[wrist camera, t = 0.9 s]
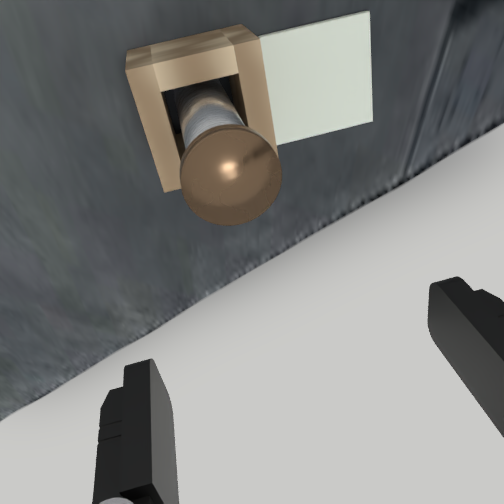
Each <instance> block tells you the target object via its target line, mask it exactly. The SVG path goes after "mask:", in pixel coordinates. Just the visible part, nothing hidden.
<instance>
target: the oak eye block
mask: <svg viewBox="0 0 504 504" xmlns="http://www.w3.org/2000/svg"><path fill="white" fill-rule="evenodd" d="M125 72H126V75H127V78H128V81H129V84H130V87H131V90H132V93H133V96H134V100H135V103H136V106H137V109H138V112H139V115H140V118H141V121H142V124H143V128H144V131H145V134H146V137H147V140H148V143H149V146H150V149H151V152H152V155H153V159H154V162H155V165H156V168H157V171H158V174H159V177H160V180H161V183H162V187H163V190H164V193H165V192H169V191H173V190H177V189H181V183H180V175H179V171H180V163H181V159H182V157H183V154H184V152H185V150H186V148H185V144H184V139H183V135H182V133H178V134H175V131H174V127H173V123H172V120H171V116H170V113H169V109H168V106H167V102H166V99H165V95H164V92H163V91H166V90H170V89H175V88H179V87H183V86H187V85H191V84H195V83H200V82H204V81H208V80H212V79H216V78H220V77H225V76H228V77H229V82H230V87H231V92H232V97H233V102H234V107H235V109H236V111H237V113H238V115H239V116H240V118H241V120H242V122H243V123H244V125H245V126H246V127H249V128H252V129H253V130H255V131H257V132H258V133H260V134H261V135H262V136H263V137H264V138H265V139H266V140H267V141H268V142H269V143H270V145H271V146H272V148H273V150H274V151H275V153H276V155H277V156H278V152H277V145H276V139H275V132H274V126H273V120H272V113H271V107H270V100H269V94H268V87H267V81H266V74H265V68H264V62H263V55H262V49H261V42H260V38H258V37H257V36H256V35H255V34H253V33H252V32H251V31H250V30H248V29H247V28H246V27H245V26H243V25H242V24H239V25H234V26H230V27H226V28H222V29H217V30H213V31H209V32H204V33H200V34H196V35H191V36H187V37H183V38H179V39H174V40H170V41H166V42H161V43H157V44H153V45H148V46H144V47H140V48H136V49H131V50H127V57H126V67H125ZM278 159H279V158H278Z"/></svg>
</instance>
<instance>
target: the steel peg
mask: <svg viewBox="0 0 504 504" xmlns="http://www.w3.org/2000/svg"><path fill="white" fill-rule="evenodd" d="M174 100H175V104H176V109H177V113H178V118H179V122H180V126H181V131H182V135H183V139H184V144H185V148H186V150H185V152H184V154H183V157H182V159H181V163H180V171H179V175H180V183H181V189H182V193H183V196H184V199H185V201H186V203H187V204H188V206H189V207H190V208H191V210H192V211H193V212H194V213H195V214H196V215H198V216H199V217H200V218H202V219H204V220H206V221H208V222H210V223H214V224H217V225H226V226H231V225H239V224H243V223H246V222H249V221H251V220H253V219H255V218H257V217H258V216H260V215H261V214H263V213H264V212H265V211H266V210H267V209H268V208H269V207H270V206H271V204H272V203H273V202H274V200H275V199H276V197H277V195H278V193H279V190H280V187H281V181H282V169H281V164H280V161H279V159H278V156H277V155H276V153H275V151H274V150H273V148H272V146H271V145H270V143H269V142H268V141H267V140H266V139H265V138H264V137H263V136H262V135H261V134H260V133H258V132H257V131H255V130H253V129H252V128H249V127H246V126H245V125H244V123H243V122H242V120H241V118H240V116H239V115H238V113H237V111H236V109H235V108H234V106H233V104H232V102H231V101H230V99H229V97H228V95H227V94H226V92H225V90H224V89H223V87H222V85H221V83H220V82H219V80H218V79H217V78H216V79H212V80H208V81H204V82H200V83H195V84H191V85H187V86H183V87H179V88H175V89H174Z"/></svg>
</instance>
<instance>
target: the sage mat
mask: <svg viewBox="0 0 504 504" xmlns="http://www.w3.org/2000/svg"><path fill="white" fill-rule="evenodd" d="M258 38H260V42H261V49H262V55H263V62H264V68H265V74H266V81H267V87H268V94H269V100H270V107H271V113H272V120H273V126H274V132H275V139H276V145H280V144H284V143H288V142H292V141H296V140H300V139H304V138H308V137H312V136H316V135H320V134H324V133H328V132H332V131H336V130H340V129H344V128H348V127H352V126H356V125H360V124H364V123H368V122H372V121H373V112H372V76H371V41H370V12H369V11H362V12H358V13H354V14H350V15H345V16H341V17H337V18H333V19H328V20H324V21H320V22H316V23H311V24H307V25H303V26H299V27H294V28H290V29H286V30H282V31H277V32H273V33H269V34H265V35H260V36H258Z"/></svg>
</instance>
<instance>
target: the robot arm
mask: <svg viewBox="0 0 504 504" xmlns="http://www.w3.org/2000/svg"><path fill="white" fill-rule="evenodd" d="M428 328H429V332H430V335H431V337H432V339H433V341H434V342H435V344H436V345H437V347H438V348H439V349H440V351H441V352H442V354H443V355H444V356H445V358H446V359H447V360H448V362H449V363H450V365H451V366H452V367H453V369H454V370H455V371H456V373H457V374H458V375H459V377H460V378H461V380H462V381H463V382H464V384H465V385H466V387H467V388H468V389H469V391H470V392H471V393H472V395H473V396H474V397H475V399H476V400H477V402H478V403H479V404H480V406H481V407H482V408H483V410H484V411H485V412H486V414H487V415H488V417H489V418H490V419H491V421H492V422H493V424H494V425H495V426H496V428H497V429H498V430H499V432H500V433H501V435H502V436H503V437H504V302H503V301H502V300H501V299H500V298H498V297H496V296H494V295H492V294H490V293H488V292H487V291H485V290H483V289H480V290H476V291H473V290H472V289H471V288H470V286H469V285H468V284H467V283H466V282H465V281H464V280H463V279H461V278H460V277H453V278H449V279H446V280H442V281H439V282H435V283H432V284H431V285H430V289H429V306H428ZM99 427H100V430H99V434H98V443H99V444H98V446H97V457H96V470H95V481H94V492H93V502H92V504H179V496H178V481H177V467H176V452H175V437H174V422H173V411H172V405H171V401H170V397H169V394H168V392H167V389H166V387H165V385H164V383H163V380H162V378H161V376H160V374H159V371H158V369H157V366H156V364H155V362H154V360H153V359H148V360H144V361H141V362H137V363H133V364H130V365H126V366H125V367H124V381H123V387H120V388H116V389H112V390H110V391H109V393H108V395H107V397H106V399H105V401H104V403H103V405H102V407H101V411H100V423H99Z"/></svg>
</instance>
